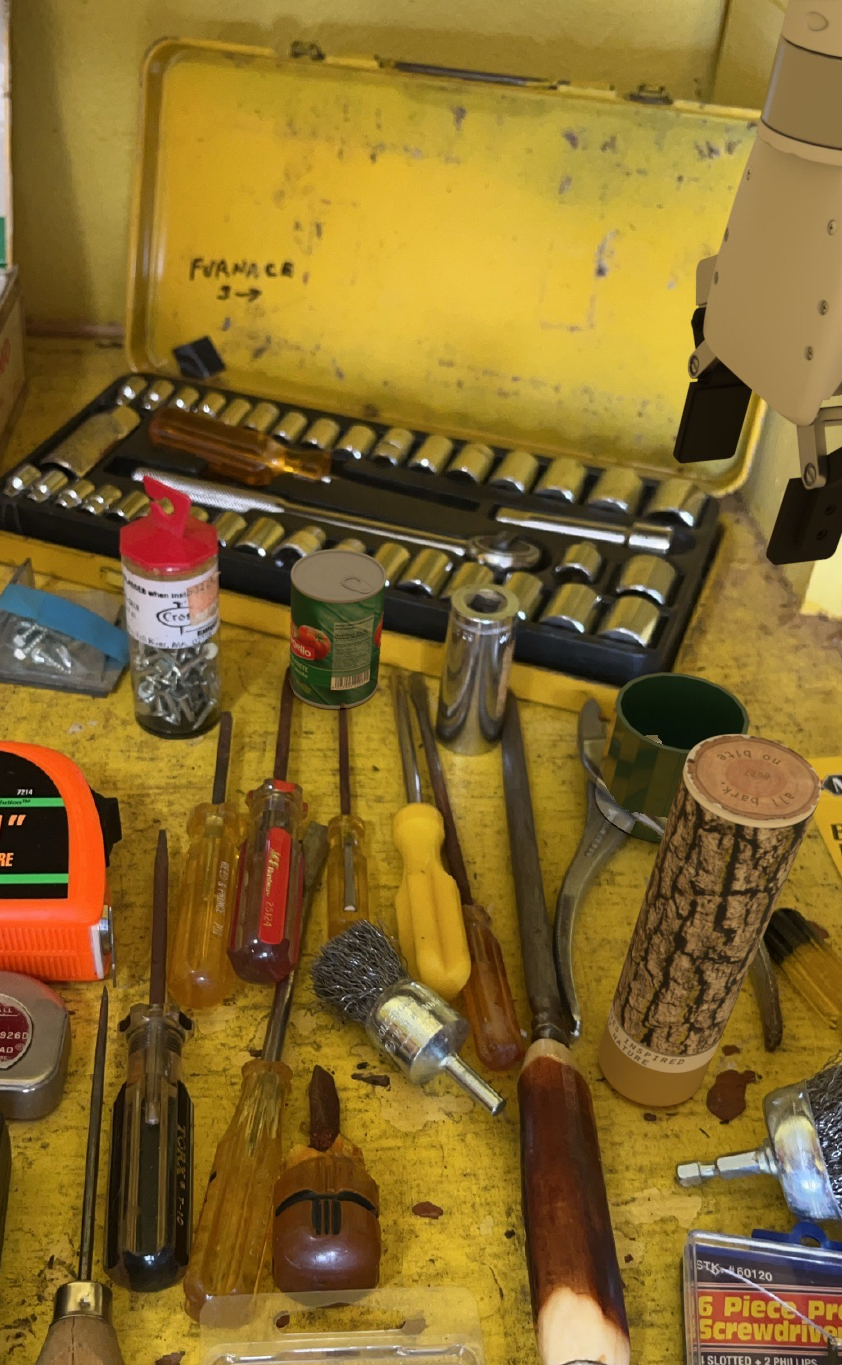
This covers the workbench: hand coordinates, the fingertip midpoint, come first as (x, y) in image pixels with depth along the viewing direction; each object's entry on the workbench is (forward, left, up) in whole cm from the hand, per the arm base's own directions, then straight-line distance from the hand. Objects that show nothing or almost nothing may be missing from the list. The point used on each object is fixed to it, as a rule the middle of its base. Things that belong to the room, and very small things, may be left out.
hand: (748, 506), depth 60 cm
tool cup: (-12, -17, -37) cm, 42 cm away
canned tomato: (+9, -38, -37) cm, 54 cm away
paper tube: (0, +7, -37) cm, 37 cm away
